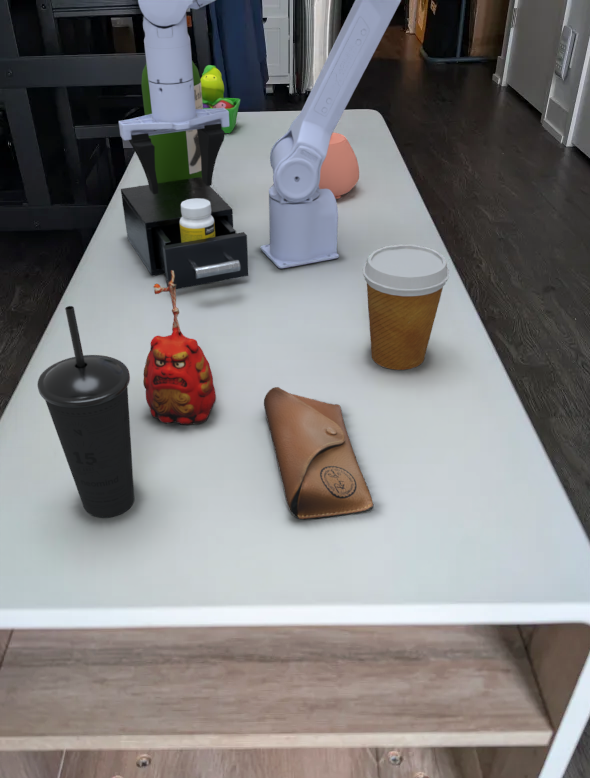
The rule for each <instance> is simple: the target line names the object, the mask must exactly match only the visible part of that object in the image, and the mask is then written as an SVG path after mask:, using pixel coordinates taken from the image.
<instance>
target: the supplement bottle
mask: <svg viewBox="0 0 590 778" xmlns="http://www.w3.org/2000/svg"><path fill="white" fill-rule="evenodd" d="M181 214H182V217H181V219H180V233H181V243H183V242H189V241H194V240H200V239H206V238H212V237H215V224H214V218H213V217H212V215H210V214H211V204H210V201H208V200H206V199H201V198H194V199H188V200H185V201H183V202H182V203H181Z"/></svg>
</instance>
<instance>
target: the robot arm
mask: <svg viewBox="0 0 590 778" xmlns="http://www.w3.org/2000/svg"><path fill="white" fill-rule="evenodd" d="M215 1H216V0H137V3H138V7H139V10H140V12H141V13H142V15H143V19H142V20H143V21H142V28H143V32H144V39H143V43H144V44H143V45H144V55H145V64H146V63H147V73H148V81H149V90H150V99H151V108H152V114H149V115H145V114H144V115H142V116H138V117H133V118H129V119H124V120H123V119H122V120H118V128H119V135H120V137H121V139H122V140H123V141H128V143H129V144H130V145H131V148H132V149H133V150H134V152H135V154H136V156H137V158H138V160H139V162H140V165H141V167H142V169H143V172H144V174H145V177H146V181H147V183H148V184H147V185H149V188H150V191H151V192H152V193H153V194H158V183H157V177H156V171H155V146H154V145H153V144H152V143H151V138H149V136H150V135H158V134H165V133H173V132H180V131H188V130H195V129H197V133H198V139H199V145H200V152H201V172H202V180H203V182H204V183H205V184H206V185H207V186H210V187H211V186H212V185H213V176H214V171H215V165H216V161H217V158H218V155H219V152H220V149H221V148H222V145H223V142H225V134H226V133H224V131H223V130H222V127H229V111H227V110H226V109H225V108H216V109H195V96H194V83H193V70H192V61H193V60H192V59H193V58H192V45H191V38H190V35H189V32H188V22H187V10H188V9H192V10H199V9H200V8H203V7H205V6H207V5H209V4H212V3H213V2H215ZM401 2H402V0H354V2H353V4H352V7H351V8H350V10H349V13H348V14H347V17H346V19H345V21H344V23H343V25H342V27H341V29H340V31H339V33H338V35H337V37H336V39H335V41H334V43H333V46H332V48H331V49H330V51H329V54H328V56H327V57H326V59H325V62H324V63H323V66H322V68H321V70H320V72H319V73H318V76H317V78H316V79H315V83H314V84H313V86H312V89H311V90H310V92H309V94H308V97H307V98H306V101H305V102H304V104H303V107H302V109H301V111H300V113H299V114H298V115H297V116H296V118H294V120H292V122H291V124H290V126H289V128H288V130H287V131H286V132H285V133H284V134H283V135H282V136H281V137H280V138H278V139H277V140H276V141H275V143H274V144H273V145H272V148H271V150H270V154H269V162H270V166H271V169H272V181H273V184H272V185H271V187H269V189H268V214H269V215H268V216H269V217H268V218H269V219H268V220H269V221H268V222H269V243H268V244H262V245H261V246H260V250H261V251H262V252H263V253H264V255H265V256H267V258H268V259H269V260H270V261H271V262H272V263H273V264H274V265H275V266H276V267H277V268H278V269H288V268H293V267H298V266H304V265H309V264H315V263H320V262H325V261H329V260H330V261H331V260H336V259H338V258H339V257H340V254H339V253H338V227H339V226H338V224H339V223H338V222H339V211H338V204H337V199H335V197H334V195H333V193H332V192H331V190H329V189H319V182H320V170H321V166H322V164H323V161H324V160H325V158H326V155H327V151H328V146H329V142H330V138H331V135H332V133H333V132H334V131H335V129H336V127H337V125H338V123H339V121H340V120H341V117H342V116H343V114H344V112H345V110H346V108H347V106H348V104H349V102H350V100H351V99H352V96H353V94H354V92H355V90H356V88H357V87H358V85H359V83H360V81H361V79H362V77H363V75H364V73H365V71H366V69H367V67H368V65H369V63H370V62H371V60H372V58H373V55H374V54H375V52H376V50H377V48H378V46H379V44H380V42H381V40H382V39H383V36H384V34H385V32H386V31H387V29H388V27H389V25H390V24H391V21H392V19H393V17H394V15H395V13H396V11H397V9H398V8H399V6H400V3H401Z"/></svg>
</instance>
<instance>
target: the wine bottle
mask: <svg viewBox="0 0 590 778" xmlns="http://www.w3.org/2000/svg"><path fill="white" fill-rule="evenodd" d="M192 70H193V83H194V96H195V109H203V104H202V90H201V80H200V79H201V77H200V72H199V69H198V67H197V65H196V64H195V63H194V61H193V60H192ZM140 85H141V94H142V102H143V111H144V116H145V115H149V114H152V108H151V99H150V90H149V81H148V73H147V63H146V62H145V65H144V67H143V69H142V72H141V83H140ZM149 138H151V143H152V144H153V145H154V146H155V171H156V177H157V183H163V182H170V181H177V180H183V179H190V178H197V177H202V172H201V152H200V145H199V139H198V133H197V129H195V130H188V131H180V132H173V133H165V134H158V135H150V136H149Z"/></svg>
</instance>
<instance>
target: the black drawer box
mask: <svg viewBox="0 0 590 778" xmlns="http://www.w3.org/2000/svg"><path fill="white" fill-rule="evenodd" d="M120 194H121V201H122V208H123V215H124V223H125V231H126V238H127V240H128V241H129V243H130V244H131V246H132V247H133V249H134V251H135V252H136V254H137V255H138V257H139V259H140V260H141V261H142V263H143V265H144V266H145V268H146V269H147V270H148V272H149V273H150V275H151V276H152V277H153V276H158V275H163V274H164V275H165V273H164V271H163V270H162V269H161V267H160V266H159V264H158V263H157V261H156V260H155V253H154V245H153V237H152V228H153V227H159V226H165V225H171V224H177V223H180V219H181V217H182V214H181V203H182V202H183V201H185V200H188V199H194V198H201V199H206V200H208V201H210V204H211V214H210V215H212V217H213V218H214V217H220V216H223V218H224V219H225V220H226V221H227V222H228V223H229V224H230V225H231V226H232V227H233V228H234V215H233V214H234V213H233V212H234V211H233V207H232V206H230V205H229V204H228V203H227V202H226V200H225V199H223V198H222V197H221V195H219V194H218V193H217V191H216V190H214V189H213V187H211V186H207V185H206V184H205V183H204V182H203V180H202V177H197V178H190V179H183V180H177V181H170V182H163V183H158V194H153V193H152V192H151V191H150V188H149V184H144V185H137V186H130V187H124V188H120Z"/></svg>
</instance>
